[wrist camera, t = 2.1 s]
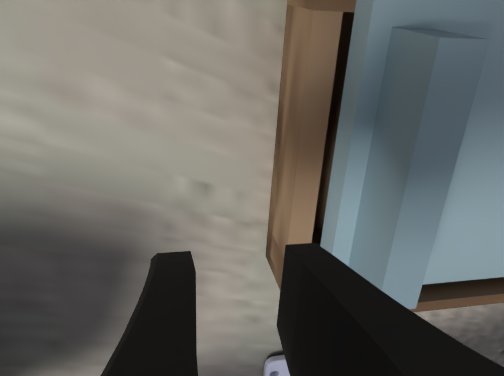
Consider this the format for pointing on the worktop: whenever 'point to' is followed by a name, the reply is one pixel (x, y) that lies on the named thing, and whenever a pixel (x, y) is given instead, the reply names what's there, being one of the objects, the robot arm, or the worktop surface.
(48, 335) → the worktop surface
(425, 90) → the lid
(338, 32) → the lid box
